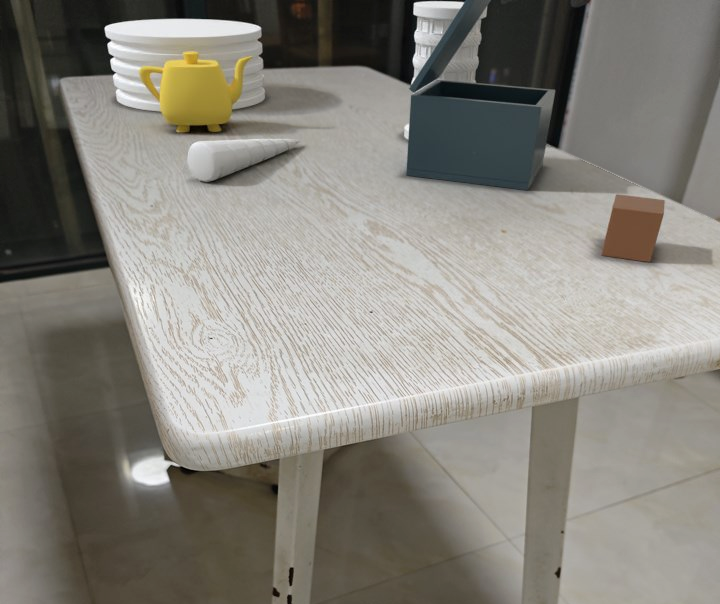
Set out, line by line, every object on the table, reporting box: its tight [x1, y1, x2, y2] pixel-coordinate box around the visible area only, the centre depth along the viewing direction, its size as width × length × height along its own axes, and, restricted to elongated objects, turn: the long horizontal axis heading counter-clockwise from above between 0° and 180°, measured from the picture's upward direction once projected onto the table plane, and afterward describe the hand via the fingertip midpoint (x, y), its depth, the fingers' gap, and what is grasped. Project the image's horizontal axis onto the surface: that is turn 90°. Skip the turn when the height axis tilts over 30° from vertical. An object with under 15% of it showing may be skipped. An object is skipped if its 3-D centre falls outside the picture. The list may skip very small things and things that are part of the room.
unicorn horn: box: [186, 138, 301, 183], centre depth 99 cm, size 5×24×5 cm, turn 148°
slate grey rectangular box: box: [405, 80, 556, 191], centre depth 97 cm, size 17×13×10 cm
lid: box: [408, 0, 492, 94], centre depth 89 cm, size 18×13×6 cm
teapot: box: [139, 51, 253, 133], centre depth 114 cm, size 18×11×11 cm, turn 101°
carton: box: [600, 193, 666, 263], centre depth 75 cm, size 5×5×5 cm
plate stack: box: [104, 18, 266, 113], centre depth 132 cm, size 28×28×12 cm
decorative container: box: [403, 0, 488, 140], centre depth 109 cm, size 12×12×18 cm
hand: (546, 3), depth 69 cm, fingers open, 8 cm apart
